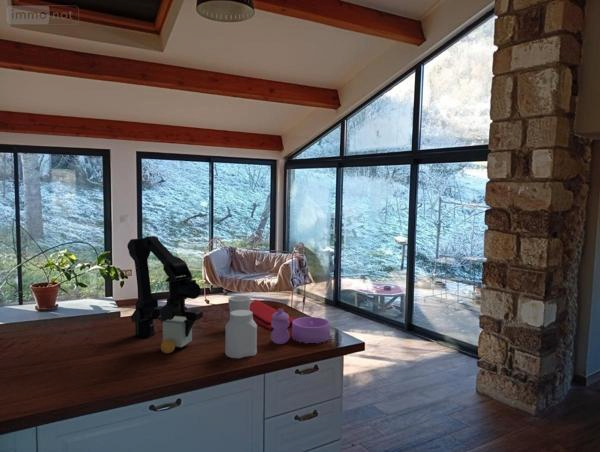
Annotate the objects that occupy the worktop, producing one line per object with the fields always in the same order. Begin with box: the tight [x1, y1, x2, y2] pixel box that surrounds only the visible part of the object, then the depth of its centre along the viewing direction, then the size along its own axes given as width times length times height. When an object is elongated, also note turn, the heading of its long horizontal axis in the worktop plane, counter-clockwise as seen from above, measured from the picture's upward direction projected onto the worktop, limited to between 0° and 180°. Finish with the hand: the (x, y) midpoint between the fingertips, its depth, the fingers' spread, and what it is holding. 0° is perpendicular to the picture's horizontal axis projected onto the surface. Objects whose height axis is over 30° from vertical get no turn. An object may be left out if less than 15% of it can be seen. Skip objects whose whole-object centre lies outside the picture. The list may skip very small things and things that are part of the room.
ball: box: [160, 339, 176, 354], centre depth 165 cm, size 5×5×5 cm
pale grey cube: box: [162, 316, 193, 348], centre depth 171 cm, size 8×8×9 cm
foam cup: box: [227, 295, 252, 313], centre depth 195 cm, size 10×9×13 cm
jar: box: [224, 310, 258, 359], centre depth 166 cm, size 12×10×15 cm
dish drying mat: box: [249, 299, 296, 332], centre depth 214 cm, size 16×41×4 cm, turn 33°
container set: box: [270, 308, 331, 345], centre depth 182 cm, size 25×15×13 cm, turn 116°
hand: (177, 335), depth 171 cm, fingers closed on pale grey cube, 8 cm apart
